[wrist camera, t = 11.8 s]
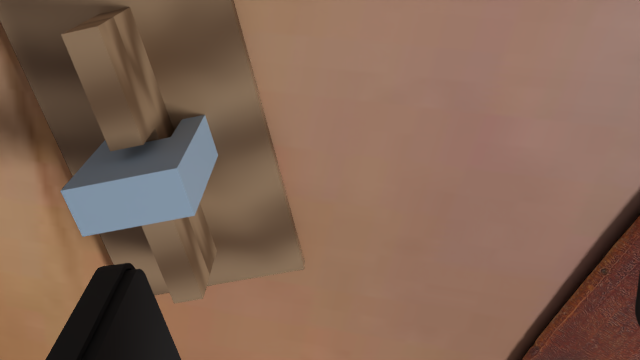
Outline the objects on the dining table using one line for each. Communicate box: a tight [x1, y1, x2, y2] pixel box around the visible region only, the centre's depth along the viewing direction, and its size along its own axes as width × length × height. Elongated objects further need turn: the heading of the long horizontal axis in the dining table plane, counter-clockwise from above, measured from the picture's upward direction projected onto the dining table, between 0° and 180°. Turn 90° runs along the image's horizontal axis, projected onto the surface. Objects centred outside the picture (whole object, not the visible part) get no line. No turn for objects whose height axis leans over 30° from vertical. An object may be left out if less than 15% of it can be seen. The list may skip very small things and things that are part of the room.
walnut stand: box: [0, 0, 305, 303], centre depth 35 cm, size 24×14×6 cm, turn 12°
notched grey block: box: [61, 115, 218, 237], centre depth 34 cm, size 7×3×8 cm, turn 102°
